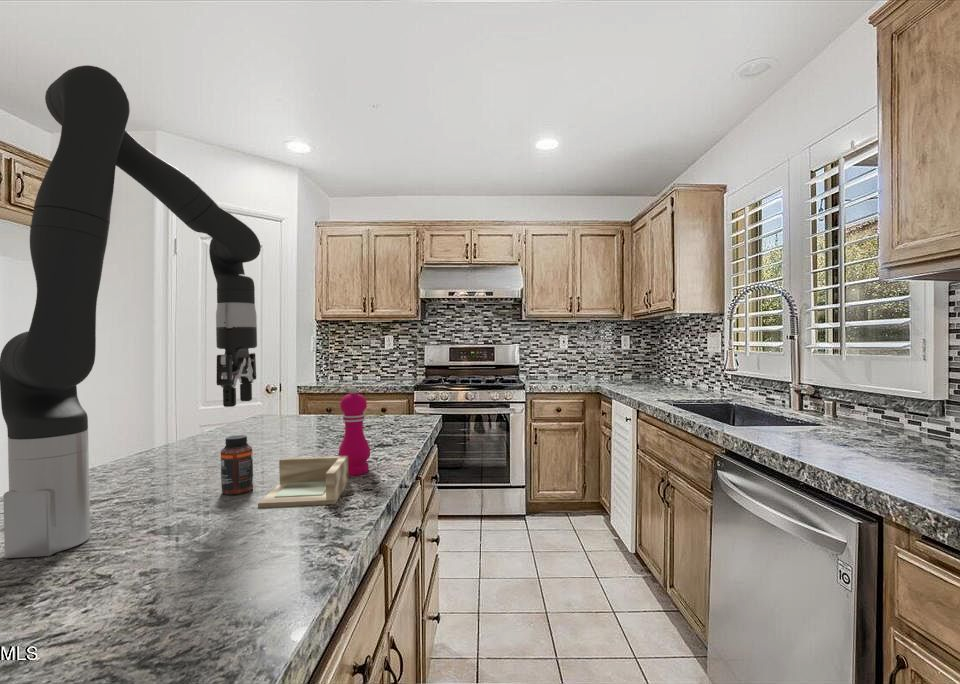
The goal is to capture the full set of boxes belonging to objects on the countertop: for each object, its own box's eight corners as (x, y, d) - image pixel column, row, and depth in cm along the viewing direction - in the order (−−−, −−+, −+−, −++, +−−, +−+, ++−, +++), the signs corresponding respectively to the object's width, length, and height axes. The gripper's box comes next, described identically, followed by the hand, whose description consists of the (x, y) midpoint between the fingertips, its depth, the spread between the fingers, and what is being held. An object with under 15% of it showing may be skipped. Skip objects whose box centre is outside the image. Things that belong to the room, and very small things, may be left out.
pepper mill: (336, 470, 114) (334, 386, 114) (367, 466, 117) (365, 384, 117) (341, 478, 108) (339, 389, 108) (373, 473, 111) (372, 387, 111)
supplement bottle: (259, 487, 102) (258, 433, 102) (242, 496, 96) (241, 439, 96) (232, 486, 103) (231, 433, 103) (214, 495, 97) (213, 439, 97)
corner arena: (334, 503, 91) (334, 473, 91) (258, 507, 89) (257, 476, 89) (348, 482, 105) (348, 455, 105) (282, 485, 103) (281, 458, 103)
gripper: (232, 327, 107) (233, 400, 107) (201, 324, 92) (203, 409, 92) (267, 326, 107) (268, 399, 107) (242, 324, 93) (243, 408, 93)
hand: (238, 403), depth 100 cm, fingers open, 8 cm apart
